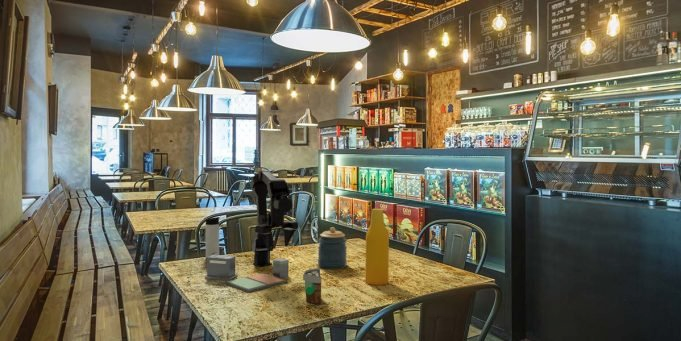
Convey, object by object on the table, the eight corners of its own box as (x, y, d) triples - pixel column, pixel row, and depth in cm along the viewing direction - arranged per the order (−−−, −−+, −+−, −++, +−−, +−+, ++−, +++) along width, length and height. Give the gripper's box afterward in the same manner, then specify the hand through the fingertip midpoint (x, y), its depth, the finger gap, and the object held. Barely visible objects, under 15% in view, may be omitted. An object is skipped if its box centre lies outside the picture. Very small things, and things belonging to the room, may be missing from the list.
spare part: (281, 274, 195) (281, 258, 195) (288, 276, 192) (288, 259, 192) (272, 276, 192) (272, 259, 191) (279, 278, 189) (279, 261, 188)
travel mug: (216, 260, 219) (216, 218, 218) (203, 259, 221) (203, 217, 220) (222, 257, 225) (221, 216, 225) (209, 256, 227) (209, 215, 226)
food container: (302, 295, 167) (302, 268, 166) (319, 295, 167) (319, 267, 167) (302, 307, 155) (302, 277, 154) (321, 306, 155) (321, 277, 155)
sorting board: (262, 275, 194) (262, 272, 194) (287, 282, 183) (287, 280, 183) (224, 283, 181) (224, 281, 181) (248, 292, 170) (248, 289, 170)
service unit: (213, 274, 195) (213, 254, 194) (237, 276, 192) (237, 255, 192) (204, 278, 188) (204, 257, 188) (229, 280, 185) (229, 259, 185)
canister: (314, 268, 206) (314, 228, 205) (322, 261, 218) (322, 224, 218) (343, 270, 203) (343, 230, 202) (349, 263, 215) (349, 225, 215)
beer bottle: (361, 280, 187) (362, 208, 186) (382, 278, 191) (383, 207, 189) (370, 286, 179) (371, 211, 178) (392, 284, 182) (393, 210, 181)
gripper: (282, 206, 203) (282, 242, 204) (246, 210, 190) (247, 248, 190) (299, 208, 196) (299, 245, 196) (263, 212, 182) (263, 252, 183)
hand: (277, 247), depth 192 cm, fingers open, 9 cm apart
